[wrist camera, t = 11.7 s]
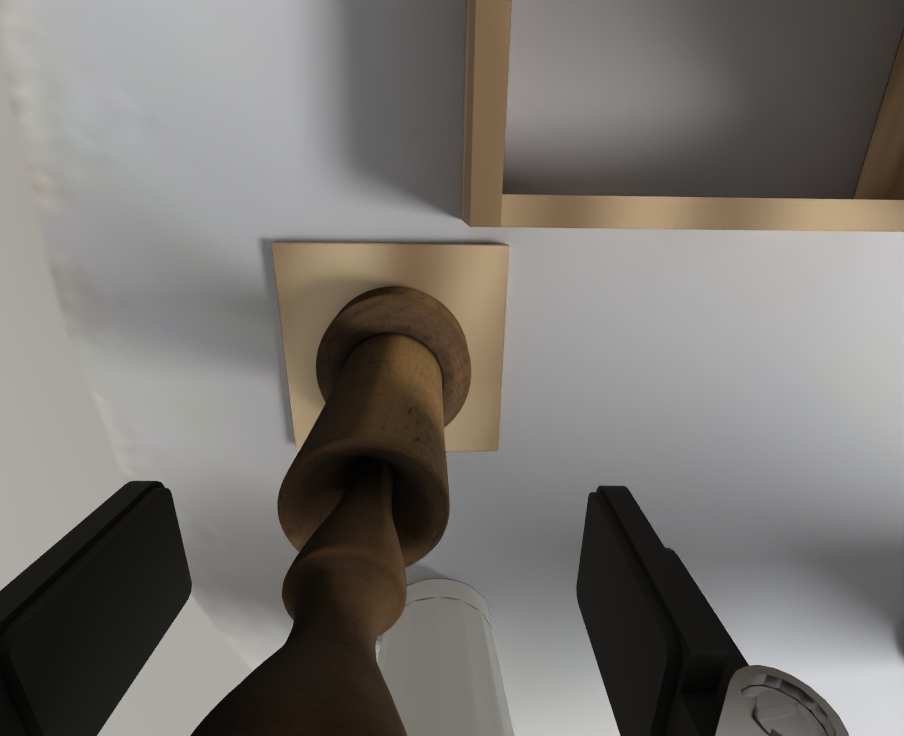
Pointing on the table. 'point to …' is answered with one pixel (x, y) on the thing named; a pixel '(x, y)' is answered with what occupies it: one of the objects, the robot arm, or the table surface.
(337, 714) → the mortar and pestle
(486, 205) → the cold frame
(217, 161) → the table surface
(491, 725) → the cup
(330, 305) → the cork mat
